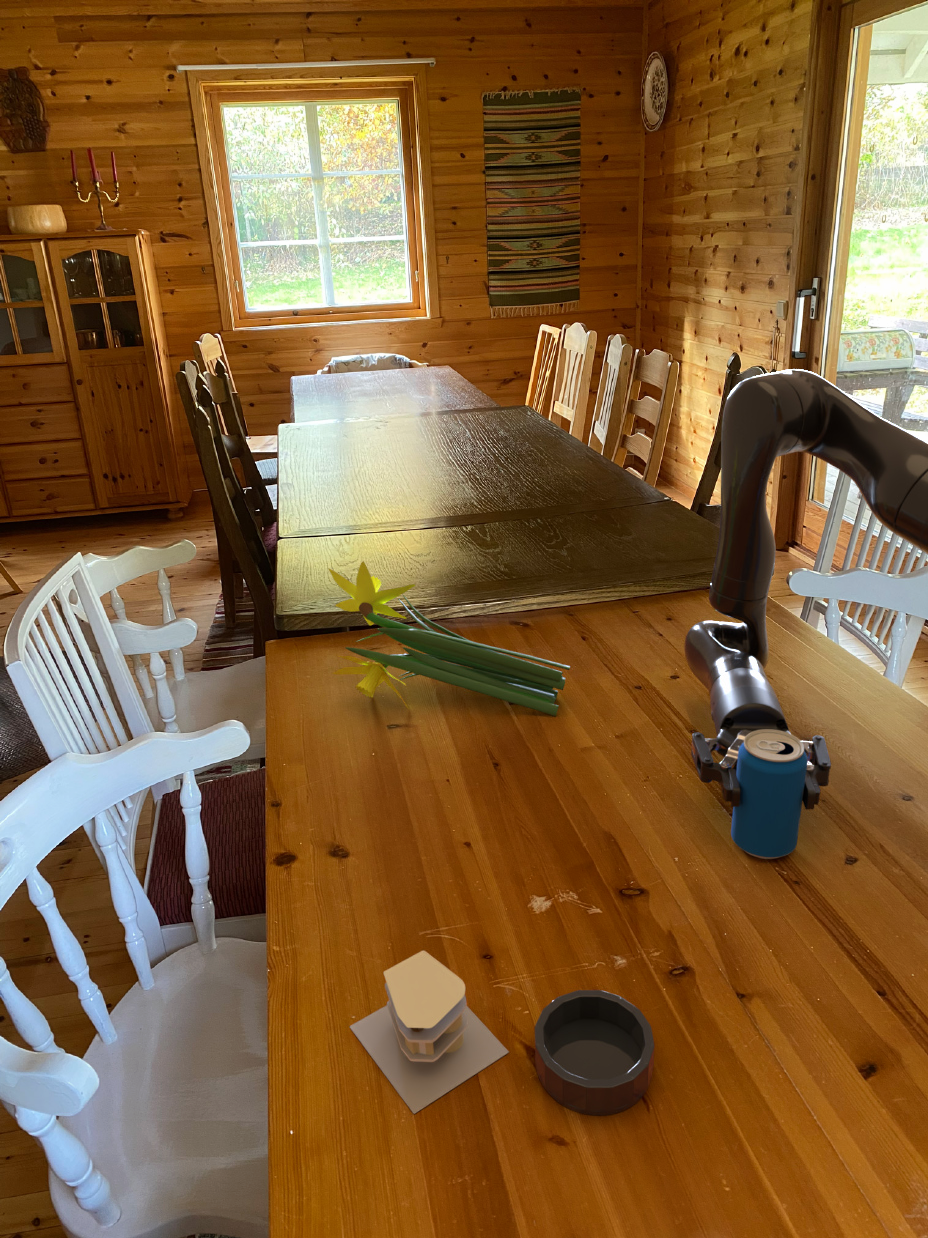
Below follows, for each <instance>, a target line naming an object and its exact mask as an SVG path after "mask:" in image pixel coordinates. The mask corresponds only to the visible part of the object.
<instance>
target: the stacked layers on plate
mask: <svg viewBox="0 0 928 1238" xmlns="http://www.w3.org/2000/svg"><path fill="white" fill-rule="evenodd" d="M383 976H384V979H385V983H384V989H385V992H386V995H387V997H388V1001H387V1002H386V1005H384V1006H383V1007H381V1008H378V1009H377V1010H376V1011H374V1012H372V1013H370V1014H369V1015H367V1016H365V1017H363V1018H361V1019H360V1020H358V1021H355V1022H354V1023H353V1024H350V1026H349V1028H350V1030H351V1031H352V1032H353V1034H354V1035H355V1037H356V1038H357V1039H358V1041H359V1043H360V1044H361V1045H362V1046H363V1047H364V1049H365V1050H366V1052H367V1053H368V1055H370V1056H371V1058H372V1059H373V1061H374V1062H375V1064H376V1065H377V1066H378V1068H379V1069H380V1071H382V1073H383V1074H384V1076H385V1077H386V1079H387V1080H388V1081H389V1082H390V1084H391V1085H392V1087H393V1088H394V1089H395V1091H396V1092H397V1093H398V1095H399V1096H400V1097H401V1099H402V1100H403V1102H404V1103H405V1104H406V1105H407V1107H408V1109H410V1111H411V1112H412V1114H414V1115H415V1114H416V1113H418V1112H419V1111H421V1110H422V1109H424V1108H426V1107H427V1106H429V1105H430V1104H432V1103H434V1102H435V1101H436V1100H438V1099H439V1098H441V1097H443V1096H444V1095H446V1094H447V1093H449V1092H450V1091H451V1090H453V1089H456V1088H457V1087H458V1086H460V1085H461V1084H462V1083H465V1082H466V1081H467V1080H469V1079H470V1078H472V1077H473V1076H474V1075H477V1074H478V1073H479V1072H481V1071H482V1070H484V1069H486V1068H487V1067H489V1066H490V1065H492V1064H493V1063H495V1062H497V1061H498V1060H500V1059H502V1058H503V1057H504V1056H505V1055H507V1054H509V1053H510V1051H509V1050H508V1049H507V1048H506V1047H505V1046H504V1044H502V1042H501V1041H500V1040H499V1039H498V1038H497V1036H495V1035H494V1033H492V1032H491V1030H490V1029H489V1028H488V1027H487V1026H486V1025H485V1024H484V1023H483V1022H482V1021H481V1020H480V1018H479V1017H478V1016H477V1015H476V1014H475V1013H474V1012H473V1011H472V1010H471V1008H470V1007H469V1006H468V1005H467V997H466V984H465V982H464V981H463V979H462V978H461V977H459V976H458V975H457V974H455V972H453V971H451V969H449V968H448V967H447V966H445V965H444V964H443V963H442V962H440V961H439V960H437V959H436V958H435V957H433V956H432V955H431V954H430V953H428V952H427V951H426V950H421V951H419V952H417V953H415V954H413V955H411V956H410V957H408V958H406V959H404V960H402V961H401V962H399V963H397V964H395V965H393V966H392V967H390V968H388V969H386V970H384V971H383Z"/></svg>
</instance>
